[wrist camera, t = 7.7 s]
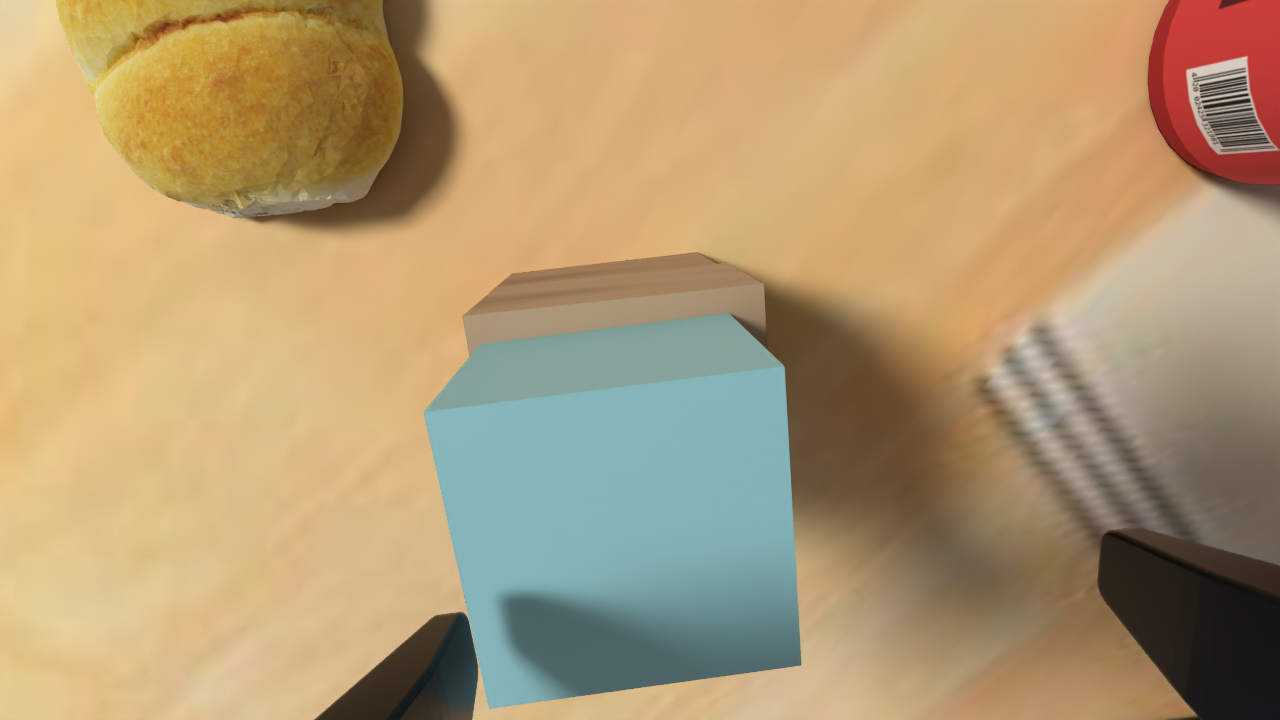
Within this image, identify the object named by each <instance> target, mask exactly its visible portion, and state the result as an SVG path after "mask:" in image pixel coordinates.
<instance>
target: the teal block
mask: <svg viewBox="0 0 1280 720" xmlns="http://www.w3.org/2000/svg"><path fill="white" fill-rule="evenodd" d="M424 416H425V421H426V425H427V430H428V434H429V439H430V443H431V448H432V452H433V457H434V461H435V466H436V470H437V475H438V479H439V484H440V488H441V493H442V497H443V502H444V506H445V511H446V516H447V520H448V525H449V529H450V534H451V538H452V543H453V547H454V552H455V556H456V561H457V565H458V570H459V574H460V579H461V583H462V588H463V592H464V597H465V602H466V606H467V611H468V615H469V620H470V624H471V629H472V633H473V638H474V642H475V647H476V651H477V656H478V660H479V665H480V669H481V674H482V678H483V683H484V688H485V692H486V697H487V701H488V706H489V709H490V708H497V707H504V706H512V705H519V704H526V703H533V702H540V701H548V700H555V699H562V698H569V697H576V696H584V695H591V694H598V693H605V692H613V691H620V690H627V689H634V688H641V687H649V686H656V685H663V684H670V683H677V682H685V681H692V680H699V679H706V678H713V677H721V676H728V675H735V674H742V673H750V672H757V671H764V670H771V669H778V668H786V667H793V666H800V665H801V650H800V633H799V615H798V597H797V579H796V561H795V544H794V526H793V508H792V490H791V472H790V455H789V437H788V419H787V401H786V383H785V366H784V365H783V364H782V363H781V362H780V361H778V360H777V359H776V358H775V357H774V356H773V355H772V354H771V353H770V352H769V351H768V350H767V349H766V348H765V347H764V346H763V345H762V344H761V343H760V342H759V341H757V340H756V339H755V338H754V337H753V336H752V335H751V334H750V333H749V332H748V331H747V330H746V329H745V328H744V327H743V326H742V325H741V324H740V323H739V322H738V321H736V320H735V319H734V318H733V317H732V316H731V315H730V314H729V313H726V314H718V315H710V316H702V317H694V318H686V319H678V320H670V321H662V322H654V323H646V324H638V325H630V326H622V327H614V328H606V329H598V330H590V331H582V332H574V333H566V334H558V335H550V336H542V337H534V338H526V339H518V340H510V341H502V342H494V343H486V344H480V345H479V347H478V348H477V349H476V350H475V351H474V353H473V354H472V355H471V356H470V357H469V359H468V360H467V361H466V362H465V363H464V364H463V366H462V367H461V368H460V369H459V370H458V372H457V373H456V374H455V375H454V376H453V378H452V379H451V380H450V381H449V382H448V384H447V385H446V386H445V387H444V388H443V390H442V391H441V392H440V393H439V394H438V396H437V397H436V398H435V399H434V400H433V402H432V403H431V404H430V405H429V406H428V408H427V409H426V410H425V411H424Z"/></svg>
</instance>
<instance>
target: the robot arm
mask: <svg viewBox="0 0 1280 720" xmlns="http://www.w3.org/2000/svg"><path fill="white" fill-rule="evenodd" d="M1098 588H1099V591H1100V594H1101V596H1102V597H1103V599H1104V601H1105V602H1106V604H1107V605H1108V606H1109V607H1110V609H1111V610H1112V611H1113V612H1114V614H1115V615H1116V616H1117V617H1118V619H1119V620H1120V621H1121V622H1122V624H1123V625H1124V626H1125V627H1126V629H1127V630H1128V631H1129V633H1130V634H1131V635H1132V636H1133V638H1134V639H1135V640H1136V641H1137V643H1138V644H1139V645H1140V646H1141V648H1142V649H1143V650H1144V651H1145V653H1146V654H1147V655H1148V656H1149V658H1150V659H1151V660H1152V661H1153V663H1154V664H1155V665H1156V667H1157V668H1158V669H1159V670H1160V672H1161V673H1162V674H1163V675H1164V677H1165V678H1166V679H1167V680H1168V682H1169V683H1170V684H1171V685H1172V686H1173V688H1174V689H1175V690H1176V691H1177V693H1178V694H1179V695H1180V696H1181V697H1182V699H1183V700H1184V701H1185V702H1186V703H1187V704H1188V705H1189V707H1190V708H1191V709H1192V710H1193V711H1194V712H1195V713H1196V714H1197V715H1198V717H1199V718H1200V719H1201V720H1280V566H1279V565H1276V564H1272V563H1268V562H1264V561H1261V560H1257V559H1253V558H1250V557H1246V556H1242V555H1239V554H1235V553H1231V552H1228V551H1224V550H1220V549H1216V548H1213V547H1209V546H1205V545H1202V544H1198V543H1194V542H1191V541H1187V540H1183V539H1180V538H1176V537H1172V536H1168V535H1165V534H1161V533H1157V532H1154V531H1150V530H1146V529H1143V528H1136V527H1131V528H1124V529H1116V530H1110V531H1107V532H1106V533H1105V534H1104V535H1103V537H1102V538H1101V545H1100V557H1099V568H1098ZM477 681H478V664H477V658H476V653H475V648H474V644H473V639H472V634H471V629H470V625H469V621H468V618H467V616H466V615H465V614H464V613H462V612H457V613H449V614H441V615H436V616H434V617H433V618H431V619H430V620H429V621H428V622H427V623H426V624H424V625H423V626H422V627H421V628H420V629H419V630H417V631H416V632H415V633H414V634H413V635H412V636H410V637H409V638H408V639H407V640H406V641H405V642H404V643H402V644H401V645H400V646H399V647H398V648H397V649H395V650H394V651H393V652H392V653H391V654H390V655H389V656H387V657H386V658H385V659H384V660H383V661H382V662H380V663H379V664H378V665H377V666H376V667H375V668H374V669H372V670H371V671H370V672H369V673H368V674H367V675H365V676H364V677H363V678H362V679H361V680H360V681H358V682H357V683H356V684H355V685H354V686H353V687H352V688H350V689H349V690H348V691H347V692H346V693H345V694H343V695H342V696H341V697H340V698H339V699H338V700H337V701H335V702H334V703H333V704H332V705H331V706H330V707H328V708H327V709H326V710H325V711H324V712H323V713H321V714H320V715H319V716H318V717H317V718H316V719H315V720H472V717H473V710H474V703H475V696H476V688H477Z"/></svg>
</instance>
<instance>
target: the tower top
mask: <svg viewBox="0 0 1280 720" xmlns="http://www.w3.org/2000/svg"><path fill="white" fill-rule="evenodd" d="M726 313H729V314H730V315H731V316H732V317H733V318H734V319H735V320H736V321H738V322H739V323H740V324H741V325H742V326H743V327H744V328H745V329H746V330H747V331H748V332H749V333H750V334H751V335H752V336H753V337H754V338H755V339H756V340H757V341H759V342H760V343H761V344H762V345H763V346H764V347H765V348H766V349H767V336H766V315H765V294H764V283H762V282H760V281H758V280H756V279H755V278H753V277H751V276H749V275H747V274H746V273H744V272H742V271H740V270H738V269H736V268H735V267H733V266H731V265H729V264H727V263H719V264H709V265H700V266H691V267H681V268H672V269H662V270H653V271H644V272H634V273H625V274H615V275H606V276H597V277H587V278H578V279H569V280H559V281H550V282H540V283H531V284H522V285H512V286H503V287H496V288H495V289H494V290H493V291H492V292H490V293H489V294H488V295H487V296H486V297H484V298H483V299H482V300H481V301H480V302H479V303H477V304H476V305H475V306H474V307H473V308H471V309H470V310H469V311H468V312H467V313H466V314H464V315H463V322H464V327H465V333H466V339H467V344H468V350H469V356H471V355H472V354H473V353H474V351H475V350H476V349H477V348H478V347H479V345H480V344H486V343H494V342H502V341H510V340H518V339H526V338H534V337H542V336H550V335H558V334H566V333H574V332H582V331H590V330H598V329H606V328H614V327H622V326H630V325H638V324H646V323H654V322H662V321H670V320H678V319H686V318H694V317H702V316H710V315H718V314H726Z"/></svg>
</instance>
